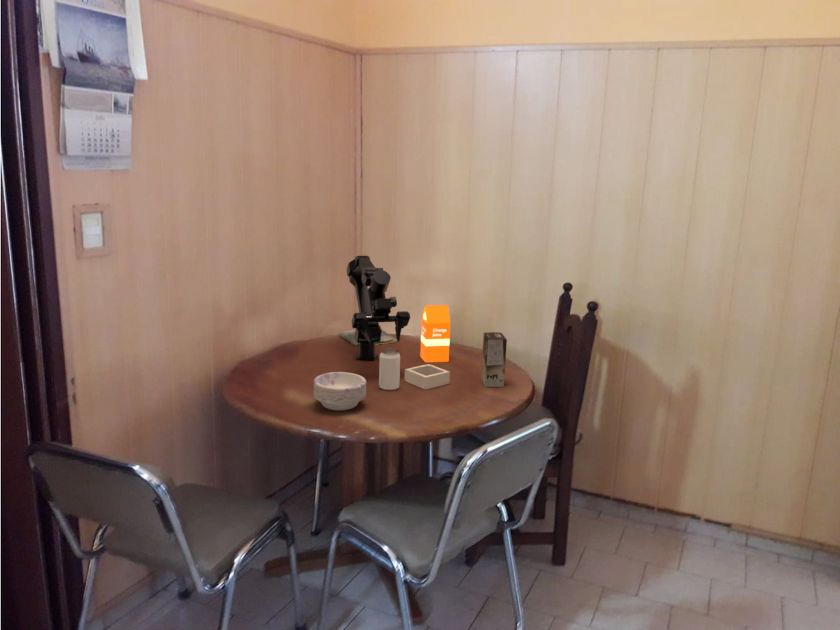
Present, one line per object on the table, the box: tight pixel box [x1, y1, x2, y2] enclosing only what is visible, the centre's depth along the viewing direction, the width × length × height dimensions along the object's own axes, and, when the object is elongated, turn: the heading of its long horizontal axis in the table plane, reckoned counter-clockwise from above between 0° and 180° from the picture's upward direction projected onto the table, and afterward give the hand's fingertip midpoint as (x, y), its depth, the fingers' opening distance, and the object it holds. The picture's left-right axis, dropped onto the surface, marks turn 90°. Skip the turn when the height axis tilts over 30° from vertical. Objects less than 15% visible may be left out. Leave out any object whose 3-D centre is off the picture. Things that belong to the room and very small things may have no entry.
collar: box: [404, 363, 451, 390], centre depth 224 cm, size 10×10×4 cm
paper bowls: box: [313, 371, 367, 412], centre depth 200 cm, size 15×15×8 cm
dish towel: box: [338, 329, 398, 348], centre depth 273 cm, size 19×18×3 cm
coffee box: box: [480, 331, 508, 388], centre depth 224 cm, size 9×6×16 cm
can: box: [378, 348, 401, 391], centre depth 216 cm, size 6×6×12 cm
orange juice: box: [419, 304, 451, 363], centre depth 248 cm, size 8×9×20 cm
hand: (384, 341), depth 222 cm, fingers open, 9 cm apart
